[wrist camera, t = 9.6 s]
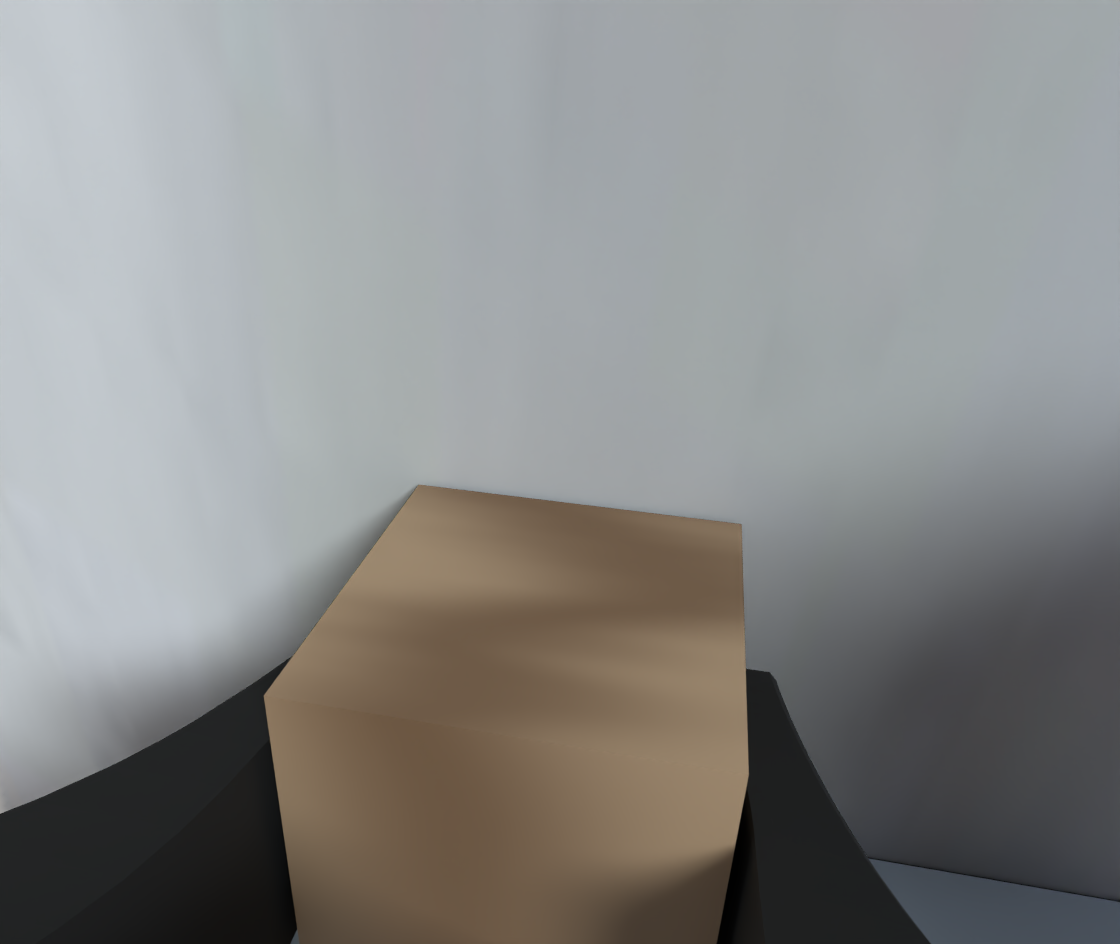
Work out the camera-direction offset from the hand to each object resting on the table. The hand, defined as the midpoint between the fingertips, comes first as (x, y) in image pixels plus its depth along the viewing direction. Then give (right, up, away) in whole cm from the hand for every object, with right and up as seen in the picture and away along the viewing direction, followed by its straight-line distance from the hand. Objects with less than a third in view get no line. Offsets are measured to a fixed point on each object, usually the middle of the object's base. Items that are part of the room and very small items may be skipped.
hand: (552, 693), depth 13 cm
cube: (0, +1, +1) cm, 1 cm away
